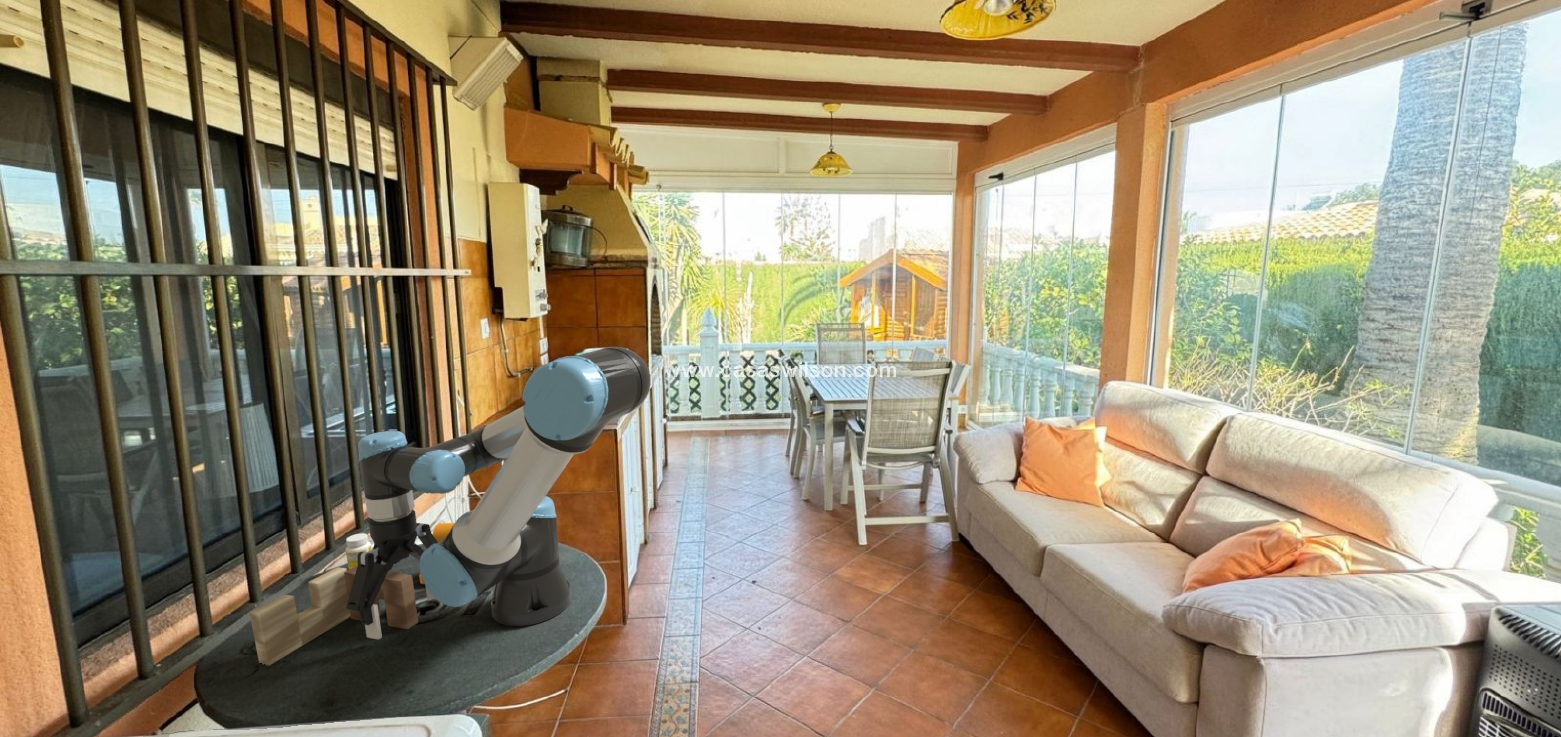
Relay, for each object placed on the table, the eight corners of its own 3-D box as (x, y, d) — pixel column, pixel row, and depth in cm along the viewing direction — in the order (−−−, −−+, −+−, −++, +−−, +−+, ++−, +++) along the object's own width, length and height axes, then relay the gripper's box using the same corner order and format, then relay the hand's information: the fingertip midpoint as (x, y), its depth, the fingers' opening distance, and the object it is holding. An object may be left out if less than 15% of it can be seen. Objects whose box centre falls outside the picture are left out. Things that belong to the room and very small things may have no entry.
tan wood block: (418, 622, 120) (411, 575, 118) (407, 629, 118) (401, 581, 116) (362, 612, 124) (355, 566, 122) (351, 618, 121) (344, 572, 120)
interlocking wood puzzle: (353, 614, 123) (346, 568, 121) (269, 665, 108) (259, 614, 106) (344, 613, 123) (337, 567, 122) (259, 663, 108) (249, 612, 106)
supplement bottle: (363, 565, 143) (358, 531, 141) (379, 567, 141) (374, 533, 140) (344, 575, 138) (338, 540, 136) (361, 578, 137) (355, 543, 135)
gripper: (429, 487, 128) (440, 581, 132) (310, 541, 104) (328, 653, 108) (458, 491, 126) (469, 585, 130) (344, 546, 102) (362, 660, 106)
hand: (405, 616), depth 119 cm, fingers open, 13 cm apart
